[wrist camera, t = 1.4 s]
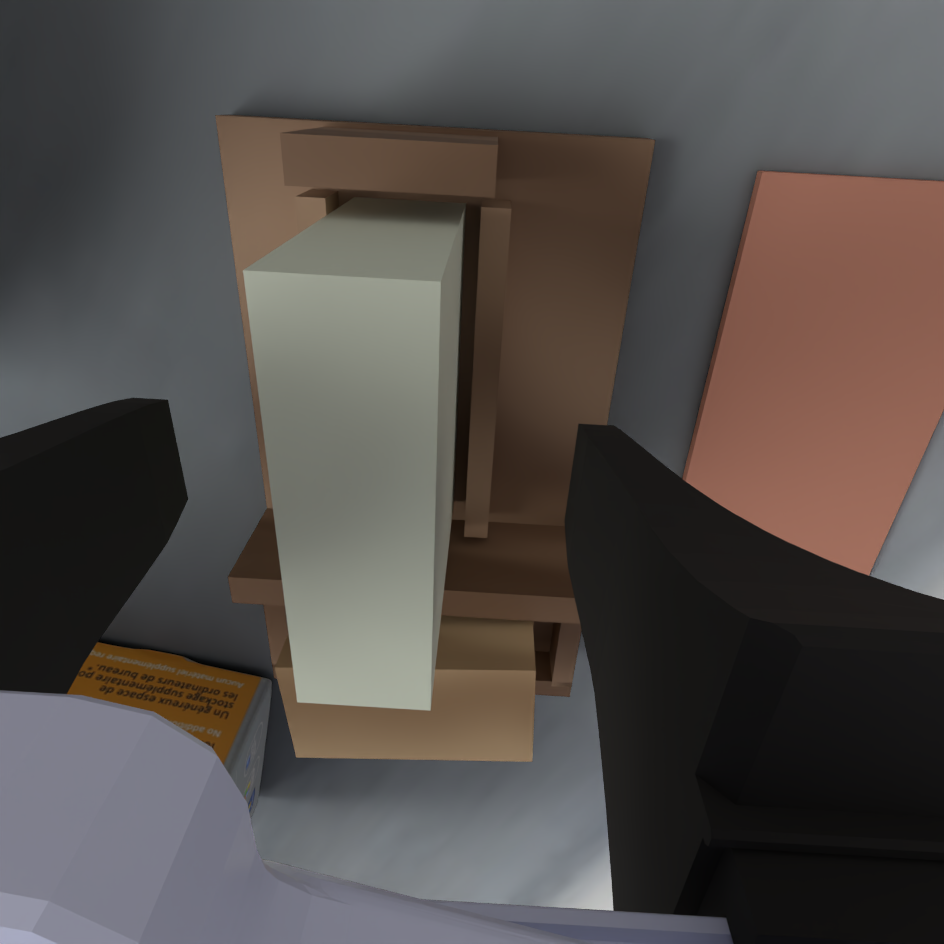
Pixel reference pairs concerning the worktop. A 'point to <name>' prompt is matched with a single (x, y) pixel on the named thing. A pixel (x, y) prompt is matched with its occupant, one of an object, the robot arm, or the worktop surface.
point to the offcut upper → (435, 703)
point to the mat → (826, 361)
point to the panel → (362, 440)
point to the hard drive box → (189, 703)
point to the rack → (473, 332)
